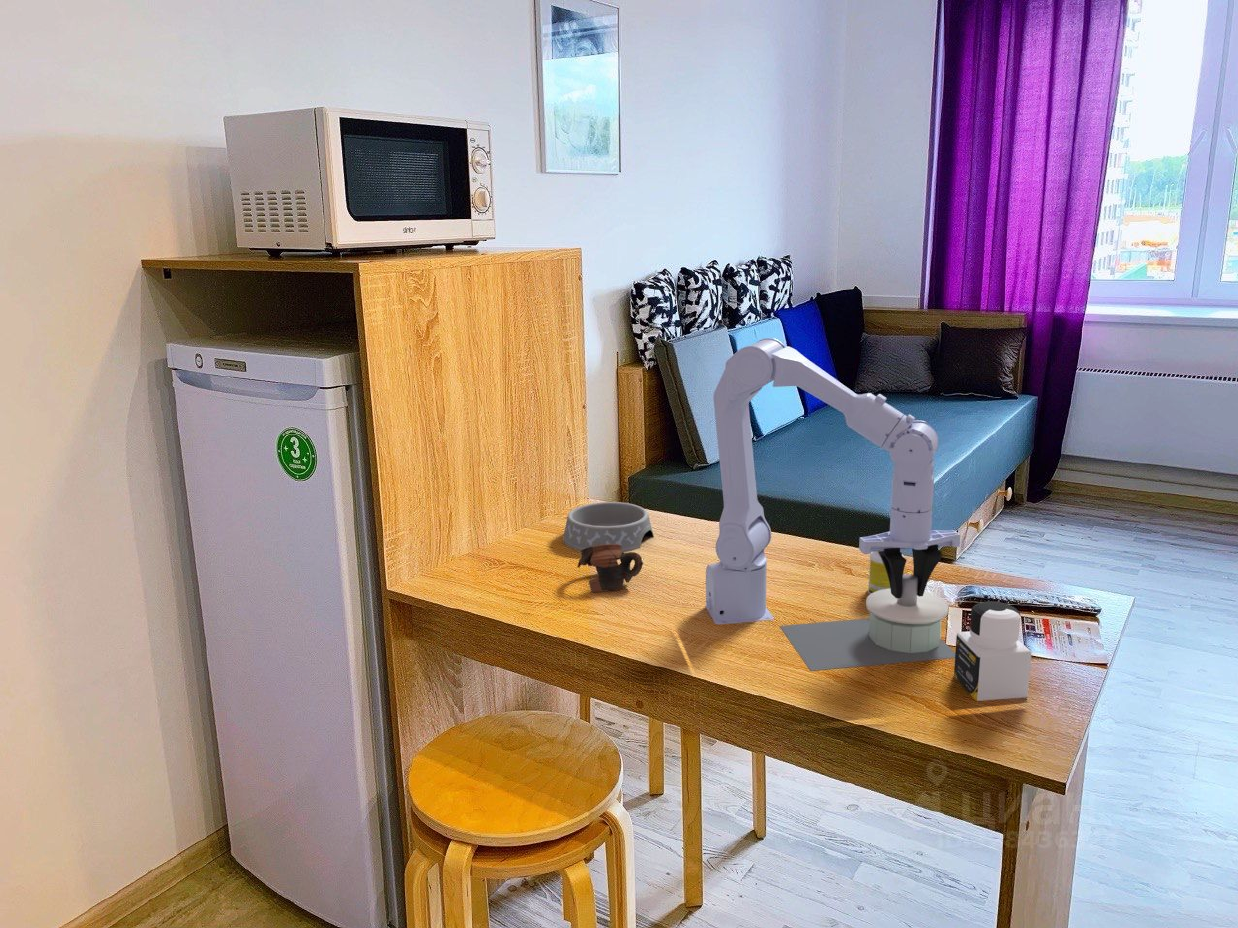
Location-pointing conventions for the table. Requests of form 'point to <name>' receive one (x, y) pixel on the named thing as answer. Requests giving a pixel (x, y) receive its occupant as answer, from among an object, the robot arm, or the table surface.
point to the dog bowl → (606, 525)
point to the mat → (849, 646)
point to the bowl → (904, 635)
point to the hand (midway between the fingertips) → (906, 594)
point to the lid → (907, 604)
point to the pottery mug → (610, 566)
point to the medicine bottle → (993, 654)
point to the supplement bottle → (877, 574)
